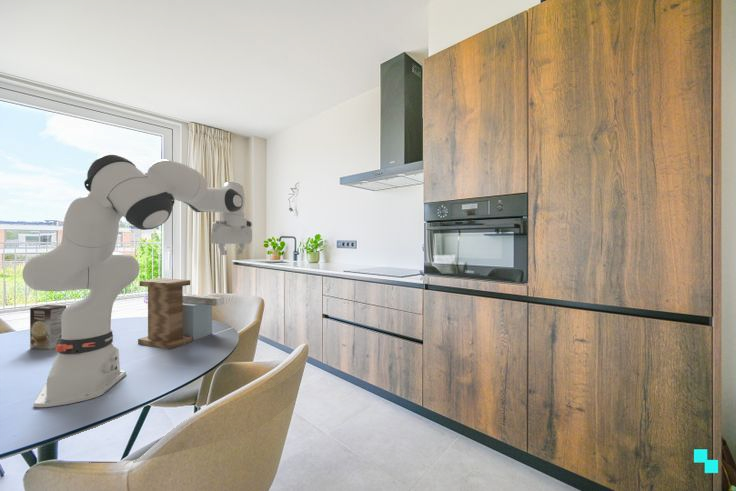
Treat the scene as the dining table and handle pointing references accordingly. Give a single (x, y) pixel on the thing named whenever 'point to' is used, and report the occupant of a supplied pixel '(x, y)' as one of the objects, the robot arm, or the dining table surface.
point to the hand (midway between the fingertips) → (232, 254)
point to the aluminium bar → (203, 299)
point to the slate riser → (197, 320)
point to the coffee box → (45, 326)
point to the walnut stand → (165, 313)
